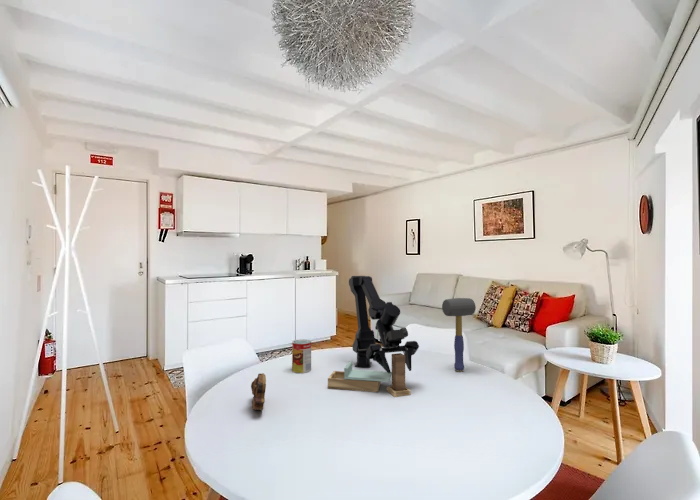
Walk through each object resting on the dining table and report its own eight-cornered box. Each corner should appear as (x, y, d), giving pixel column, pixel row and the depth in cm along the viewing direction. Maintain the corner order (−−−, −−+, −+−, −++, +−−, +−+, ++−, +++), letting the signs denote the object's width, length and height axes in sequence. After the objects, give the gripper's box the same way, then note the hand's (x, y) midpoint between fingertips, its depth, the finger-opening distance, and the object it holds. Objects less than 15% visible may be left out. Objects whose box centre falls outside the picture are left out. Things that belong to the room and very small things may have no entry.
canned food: (299, 366, 153) (299, 338, 154) (314, 369, 150) (314, 340, 150) (288, 371, 146) (288, 342, 147) (304, 374, 143) (304, 344, 143)
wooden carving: (248, 399, 118) (248, 368, 118) (262, 397, 120) (262, 367, 120) (253, 420, 103) (253, 385, 103) (269, 417, 104) (269, 383, 105)
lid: (349, 371, 135) (349, 361, 135) (391, 374, 132) (391, 363, 132) (344, 379, 126) (344, 368, 127) (389, 382, 123) (389, 370, 123)
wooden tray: (333, 380, 136) (333, 370, 136) (380, 383, 133) (380, 373, 133) (327, 388, 127) (327, 378, 127) (377, 392, 124) (377, 382, 124)
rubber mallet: (466, 366, 153) (466, 296, 153) (477, 372, 146) (477, 298, 146) (441, 369, 149) (440, 297, 150) (451, 375, 142) (450, 299, 143)
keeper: (386, 390, 125) (386, 386, 125) (402, 388, 127) (402, 384, 127) (394, 397, 120) (394, 392, 120) (410, 394, 121) (410, 390, 122)
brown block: (391, 391, 124) (391, 354, 125) (400, 390, 126) (400, 353, 126) (396, 395, 121) (395, 356, 122) (405, 393, 122) (405, 355, 123)
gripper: (368, 321, 125) (381, 361, 114) (416, 318, 131) (432, 356, 120) (361, 339, 132) (372, 379, 121) (406, 335, 138) (421, 373, 127)
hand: (400, 371), depth 122 cm, fingers open, 8 cm apart
